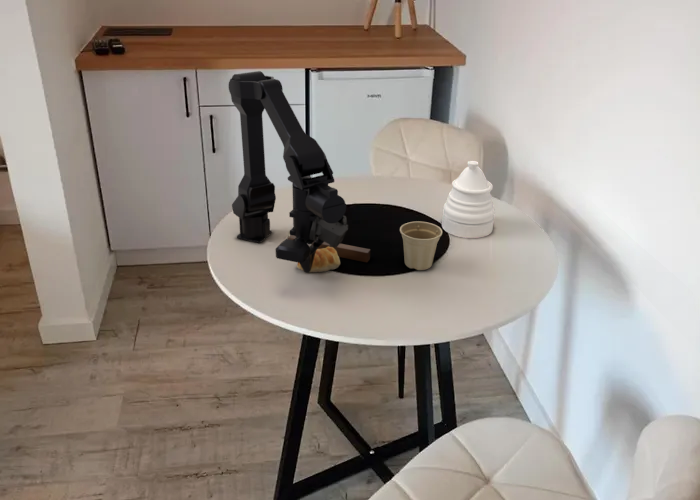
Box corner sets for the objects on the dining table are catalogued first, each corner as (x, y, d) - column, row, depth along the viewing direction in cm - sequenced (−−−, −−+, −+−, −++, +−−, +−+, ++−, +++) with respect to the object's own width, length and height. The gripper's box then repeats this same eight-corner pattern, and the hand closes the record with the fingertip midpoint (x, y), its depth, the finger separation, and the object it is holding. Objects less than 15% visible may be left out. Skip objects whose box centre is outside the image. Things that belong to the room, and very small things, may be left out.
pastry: (305, 277, 148) (305, 262, 147) (291, 265, 153) (291, 250, 152) (342, 267, 153) (342, 252, 151) (327, 255, 158) (328, 240, 156)
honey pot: (488, 241, 166) (497, 172, 158) (436, 233, 169) (442, 165, 161) (495, 220, 177) (504, 154, 168) (447, 213, 180) (453, 148, 172)
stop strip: (287, 246, 161) (287, 237, 160) (291, 243, 163) (291, 233, 162) (367, 262, 155) (367, 253, 154) (370, 258, 157) (370, 249, 156)
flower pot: (416, 250, 161) (418, 217, 157) (447, 264, 155) (450, 230, 151) (389, 263, 155) (391, 229, 151) (421, 278, 149) (423, 243, 145)
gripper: (325, 230, 131) (325, 299, 138) (358, 195, 146) (356, 259, 153) (273, 220, 134) (275, 289, 141) (310, 188, 150) (311, 251, 157)
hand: (307, 271), depth 148 cm, fingers closed
